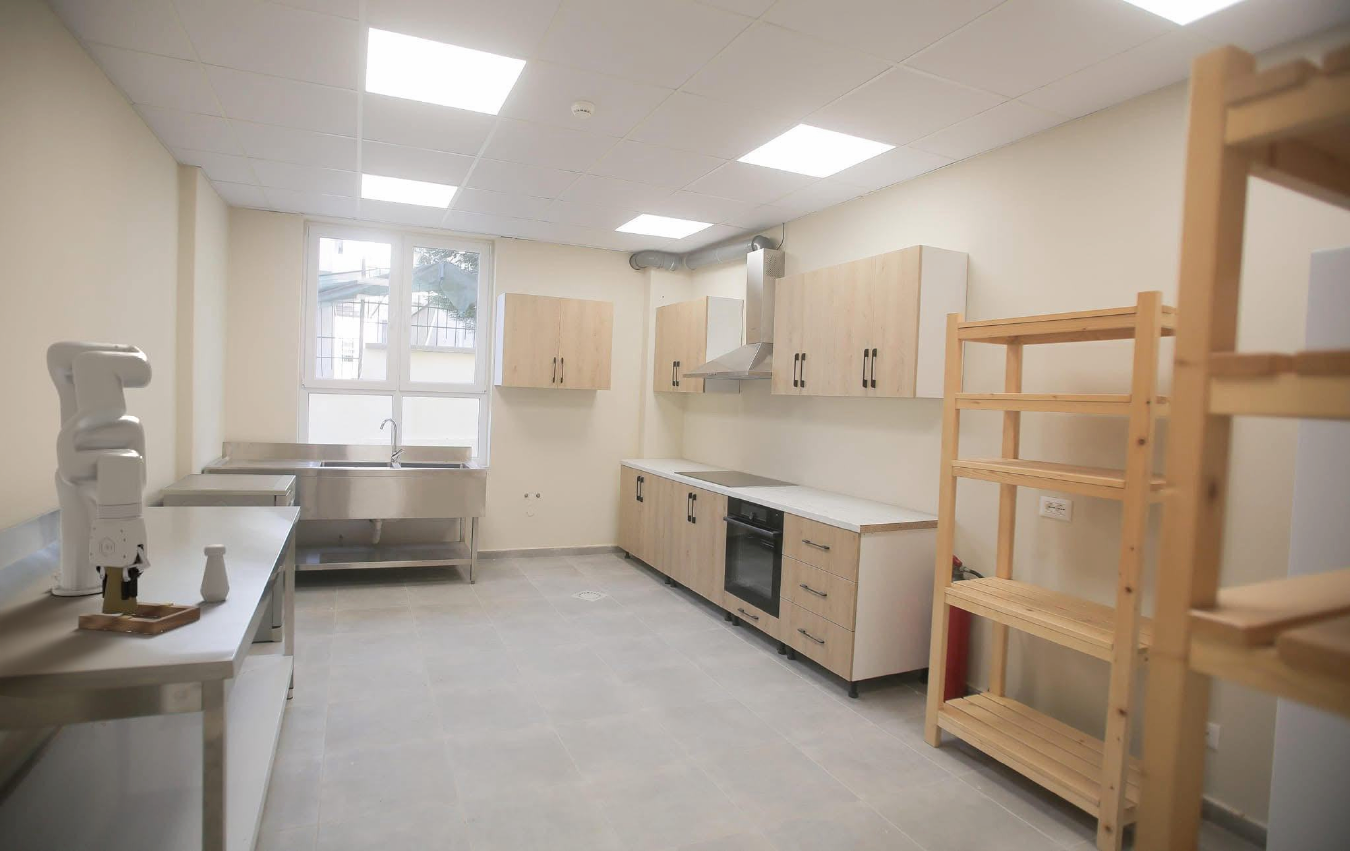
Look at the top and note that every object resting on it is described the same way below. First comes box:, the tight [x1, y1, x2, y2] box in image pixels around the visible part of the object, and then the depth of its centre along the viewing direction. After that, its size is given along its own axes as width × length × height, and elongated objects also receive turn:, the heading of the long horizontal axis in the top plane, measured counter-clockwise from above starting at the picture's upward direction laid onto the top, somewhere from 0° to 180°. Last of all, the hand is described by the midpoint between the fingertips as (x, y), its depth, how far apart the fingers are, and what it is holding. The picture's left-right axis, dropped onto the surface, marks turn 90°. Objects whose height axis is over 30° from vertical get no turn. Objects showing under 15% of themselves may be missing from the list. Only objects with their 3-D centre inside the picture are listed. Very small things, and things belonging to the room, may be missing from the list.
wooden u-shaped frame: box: [77, 601, 201, 635], centre depth 150 cm, size 18×11×3 cm, turn 80°
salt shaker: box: [199, 543, 231, 603], centre depth 167 cm, size 6×6×13 cm
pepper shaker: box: [101, 563, 138, 615], centre depth 150 cm, size 6×6×11 cm
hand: (120, 596), depth 151 cm, fingers closed on pepper shaker, 3 cm apart
